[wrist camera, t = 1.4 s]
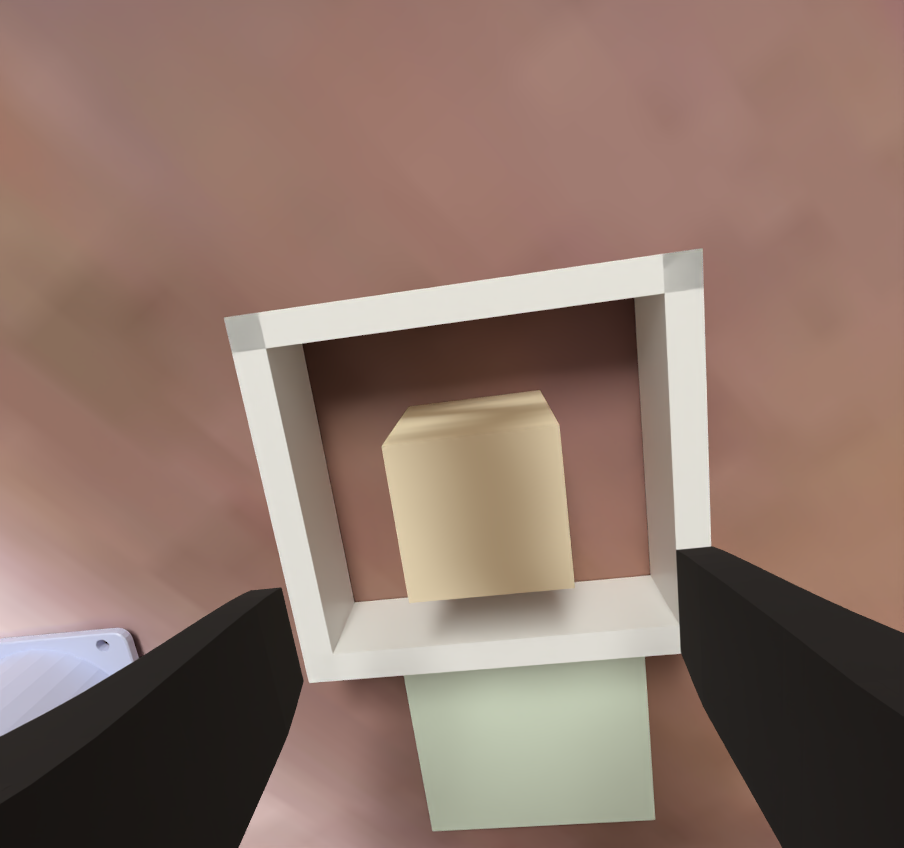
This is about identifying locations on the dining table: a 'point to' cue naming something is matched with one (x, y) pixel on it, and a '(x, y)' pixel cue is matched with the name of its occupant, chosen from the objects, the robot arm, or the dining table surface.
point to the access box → (499, 616)
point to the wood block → (480, 498)
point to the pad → (534, 744)
